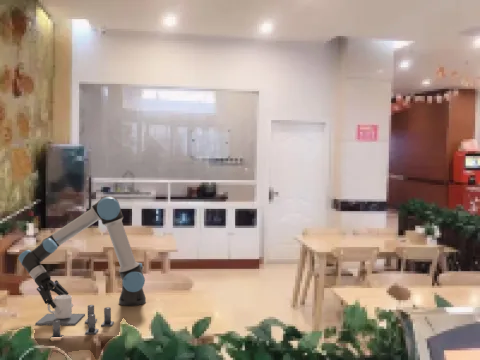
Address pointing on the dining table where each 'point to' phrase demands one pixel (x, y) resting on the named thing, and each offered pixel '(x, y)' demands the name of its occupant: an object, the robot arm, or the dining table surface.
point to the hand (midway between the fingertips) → (65, 309)
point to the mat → (50, 318)
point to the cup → (63, 306)
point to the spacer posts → (88, 322)
